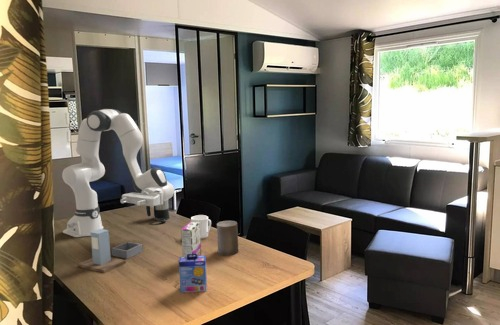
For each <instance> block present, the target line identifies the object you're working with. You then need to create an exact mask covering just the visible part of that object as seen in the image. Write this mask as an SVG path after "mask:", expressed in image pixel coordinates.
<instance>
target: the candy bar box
mask: <svg viewBox="0 0 500 325" xmlns="http://www.w3.org/2000/svg"><path fill="white" fill-rule="evenodd" d="M180 233H181V234H180V235H181V247H182V248H181V249H182V250H181V251H182V257H183V256H187V254H197V256H202V244H201V243H202V242H201V241H202V240H201V239H200V224H199V222H191V221H190V222H188V223H187V224H186V225H185V226H183V227H182V228H181V229H180ZM190 256H195V255H190Z"/></svg>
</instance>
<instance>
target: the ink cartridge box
mask: <svg viewBox="0 0 500 325" xmlns="http://www.w3.org/2000/svg"><path fill="white" fill-rule="evenodd" d="M190 255H195V256H190ZM206 258H207V257H206V255H201V256H197V254H187V256H183V255H182V256H180V257H179V260H178V272H179V292H180V293H181V292H182V293H194V292H195V293H197V292H198V293H199V292H207V290H208V279H207V276H208V275H207V259H206Z"/></svg>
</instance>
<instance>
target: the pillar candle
mask: <svg viewBox="0 0 500 325" xmlns="http://www.w3.org/2000/svg"><path fill="white" fill-rule="evenodd" d="M216 232H217V233H216V234H217V237H216V240H217V253H218V254H219V255H223V256H230V255H236V254H238V253H239V251H240V250H239V232H238V222H237V221H235V220H223V221H218V222H217V223H216Z"/></svg>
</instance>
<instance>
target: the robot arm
mask: <svg viewBox="0 0 500 325" xmlns="http://www.w3.org/2000/svg"><path fill="white" fill-rule="evenodd" d="M111 130H113V131H114V132H115V133H116V135H117V137H118V139H119V141H120V144H121V147H122V157H123V160H124V164H125V165H126V168H127V170H128V173H129V175H130V178H131V181H132V188H133V189H134V190H135V191H136V192H129V193H124V194H122V195H121V198H120V200H119V201H120V203H121V204H125V203H128V204H134V205H135V206H136V207H137V206H145V207H146V206H150V207H154V206H156V205H162V204H163V201H166V200H168V201H169V199H171V198H172V197H174V194H175V187H174V185H173V184H172V183H171V182H169V181H168V179H167V176H166V174H165V172H164V171H163V169H162V168H160V167H157V166H156V167H155V166H154V167H152V168H150V169H148V170H147V171H145V172H143V173H142V170H141V167H140V165H139V163H138V160H137V156H138V153H139V151H140V149H141V148H142V146H143V142H144V137H143V134H142V132H141V130H140V129H139V126H138V125H137V123H136V122H135V120H134V119H133V118H132V117H131V115H130V114H128V113H125V112H122V111H120V110H119V109H115V108H103V109H99V110H93V111H91V112H90V113H89V114H88V115H87V116H86V118H84V119H83V120H82V121H81V123H80V125H79V129H78V133H77V134H78V135H77V141H76V149H75V150H76V153H77V154H78V155H79V156H80V157H81V163H76V164H72V165H69V166H67V167H65V168H64V169H63V170H62V174H61V178H62V180H63V182H64V183H65V184H66V185H68V186H69V187H70V188H71V189H72V191H73V195H74V198H75V205H76V206H75V207H76V208H74V209H73V211H74V215H72V217H71V218H70V219H69V220H68V221H67V224H66V225H67V226H66V229H64V230H62V233H63V234H65V235H68V236H71V237H74V238H80V237H91V233H90V232H93V231H96V230H99V229H105V228H104V226H103V222H102V218H101V214H100V206H99V203H98V202H99V201H98V194H97V191H95V190H94V189H93V188H91V185H90V182H95V181H98V180H100V179H101V178H102V177H104V175H105V173H106V169H105V166H104V164H103V162H101V160H100V155H99V150H100V142H101V134H102V132H106V131H107V132H108V131H111Z"/></svg>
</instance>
